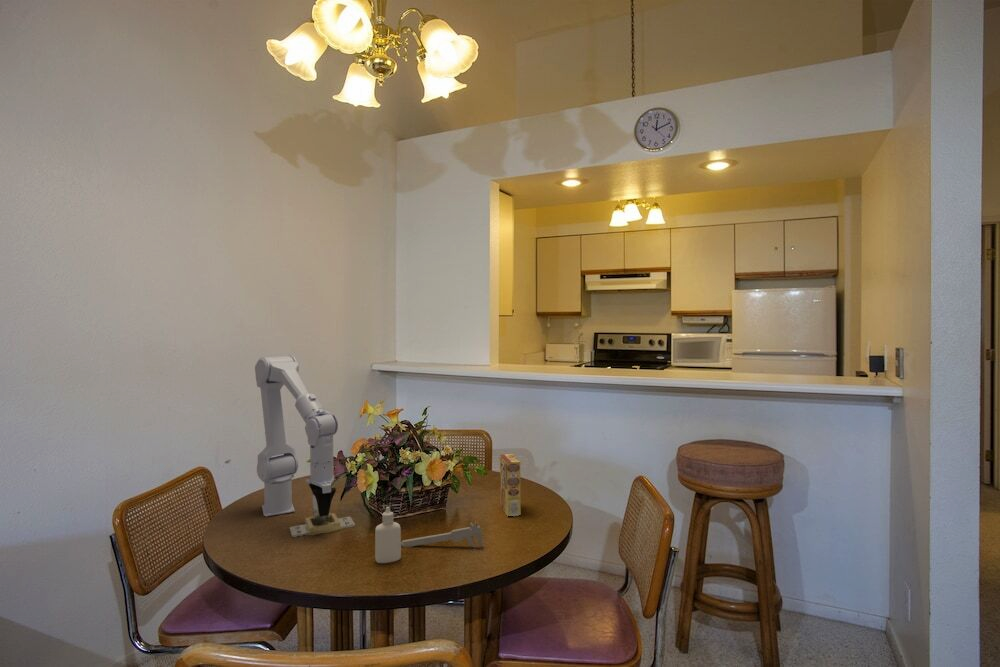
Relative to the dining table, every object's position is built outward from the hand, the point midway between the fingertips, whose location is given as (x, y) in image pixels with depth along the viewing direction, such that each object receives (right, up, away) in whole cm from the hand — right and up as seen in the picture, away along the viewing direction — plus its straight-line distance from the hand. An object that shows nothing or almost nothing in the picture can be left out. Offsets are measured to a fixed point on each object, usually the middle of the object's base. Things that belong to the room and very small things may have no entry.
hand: (322, 512), depth 136 cm
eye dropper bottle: (+21, -5, -18) cm, 28 cm away
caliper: (+32, -5, -11) cm, 34 cm away
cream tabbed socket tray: (0, -4, 0) cm, 4 cm away
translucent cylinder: (0, -2, 0) cm, 2 cm away
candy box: (+49, -4, +12) cm, 51 cm away
